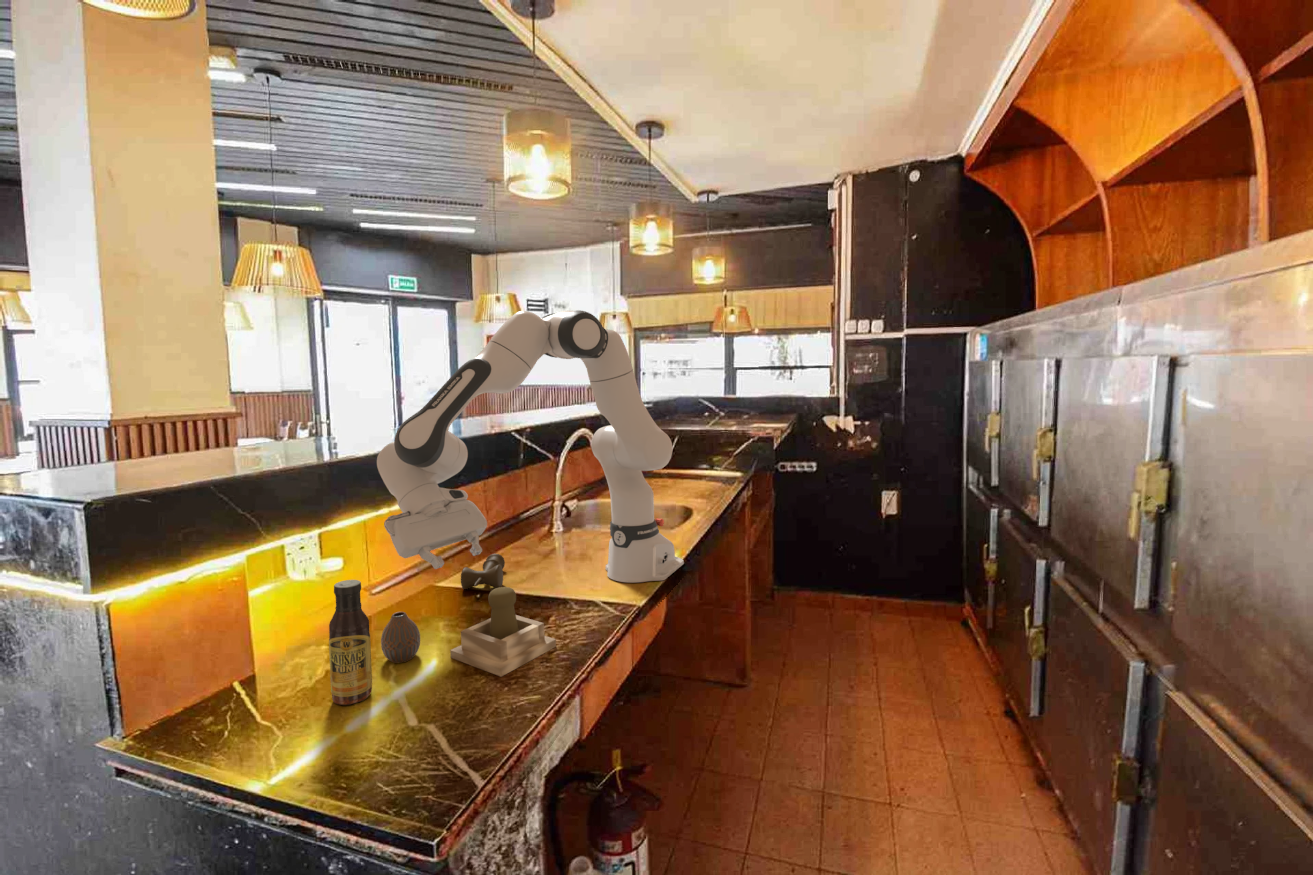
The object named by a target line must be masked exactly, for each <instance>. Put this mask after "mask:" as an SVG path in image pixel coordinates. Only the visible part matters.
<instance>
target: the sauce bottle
mask: <svg viewBox="0 0 1313 875" xmlns="http://www.w3.org/2000/svg"><path fill="white" fill-rule="evenodd" d="M361 582H362V581H360V580H357V579H346V580H341V581H338V582H336V583H335V584H334V585H333V593H334V596H335V611H334V614H333V615H332V617H331V619H330V621H329V624H328V630H329V631H328V633H329V635H328V636H329V637H328V638H329V639H328V650H329V652H328V653H329V676H330V677H329V678H330V692H331V697H332V698H331V699H332V701H333V703H334V704H336V705H340V706H351V705H354V704H357V703H361V702H363V701H365V700H367V698H368V697H369V696H370V695H371V693H372V690H373V689H372V688H373V687H372V686H373V674H372V673H373V672H372V671H373V670H372V650H371V649H372V648H371V646H372V645H371V633H370V619H369V617H368V616H367V615H366V613H365V612H364V611H363V610H362V602H361V591H362V583H361Z"/></svg>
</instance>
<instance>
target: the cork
mask: <svg viewBox="0 0 1313 875" xmlns="http://www.w3.org/2000/svg"><path fill="white" fill-rule="evenodd" d="M487 597H488V598H487V599H488V604H489V606H490V608H491V614H490V615H491V616H490V618H491V625H490V636H491V637H494V638H497V639H500V640H501V639H503V638H506V637H508V636H510V635H512V634H514V633H516V632H518V631H519V630H518V625H517V620H516V615H517V614H516V612H515V610H516V609H515V604H516V601H517V594H516V591H515V590H514V588H513V587H512V588H511V587H509V586H502V587H499V588H494V589H492V590H491V591H490V592H489V594H488V596H487Z"/></svg>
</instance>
